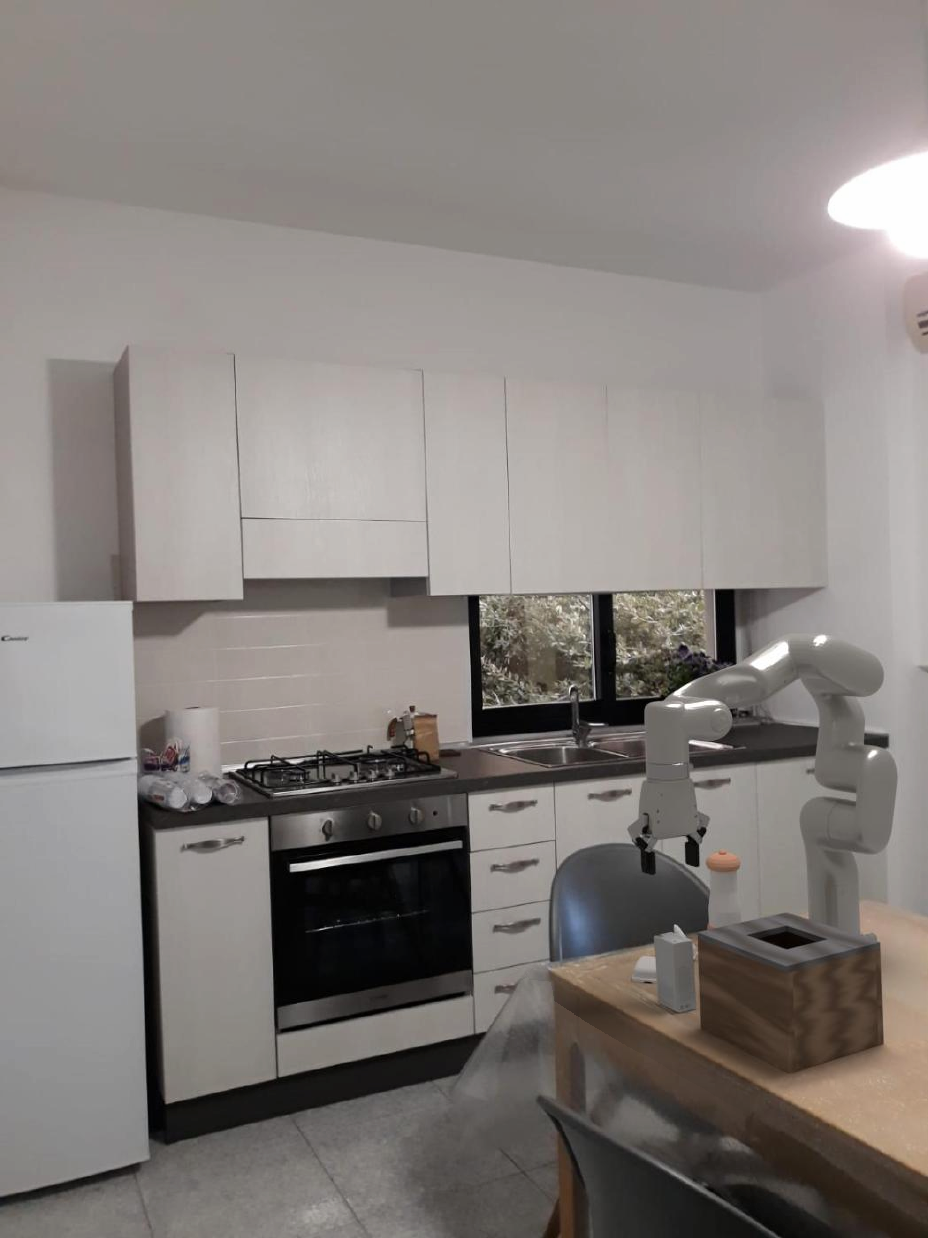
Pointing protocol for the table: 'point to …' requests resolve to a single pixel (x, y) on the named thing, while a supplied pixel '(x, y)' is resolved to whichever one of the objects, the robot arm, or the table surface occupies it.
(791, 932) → the slot box
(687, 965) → the skincare box
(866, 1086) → the table surface
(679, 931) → the rabbit figurine
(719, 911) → the pepper shaker
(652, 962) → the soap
